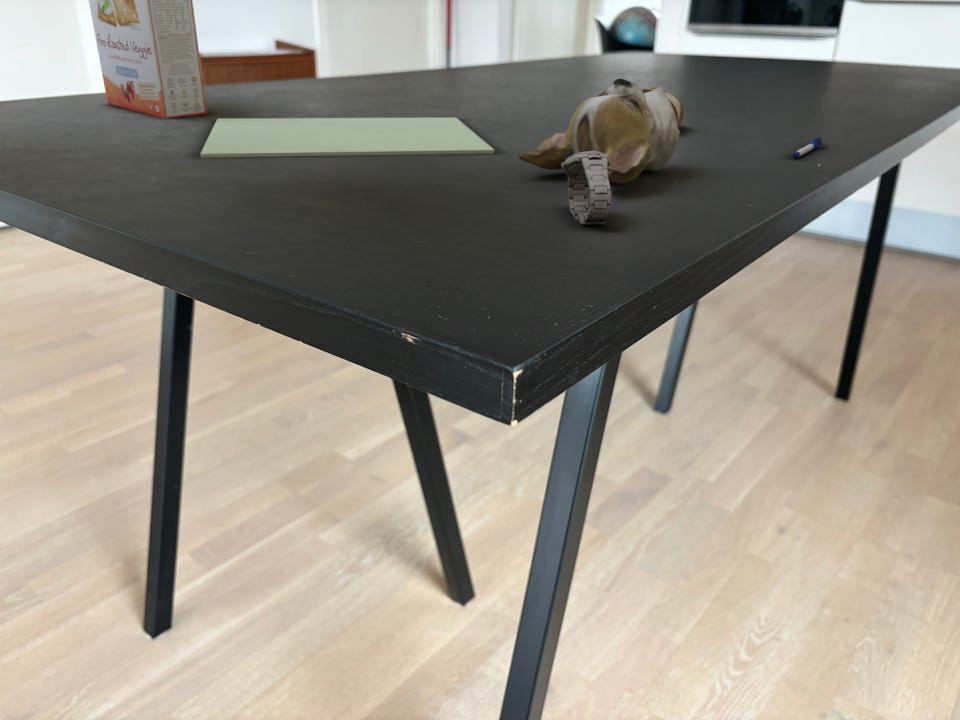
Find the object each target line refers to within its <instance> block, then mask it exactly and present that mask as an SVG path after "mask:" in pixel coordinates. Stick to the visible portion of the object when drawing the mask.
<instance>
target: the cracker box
mask: <svg viewBox="0 0 960 720" xmlns="http://www.w3.org/2000/svg"><path fill="white" fill-rule="evenodd" d="M193 2H194V1H193V0H88V4H89V9H90V15H91V20H92V27H93V32H94V37H95V42H96V43H95V44H96V48H97V53H98V59H99V63H100V69H101V74H102V80H103V85H104V91H105V95H106V101H107V105H109V106H113V107H116V108H121V109H125V110H128V111H131V112H132V111H133V112H136V113H140V114H143V115H148V116H152V117H156V118H160V119H164V120H168V119H169V120H170V119H178V118H186V117H187V118H188V117H194V116H203V115H204V116H205V115H207V114H208V111H207V104H206V94H205V89H204V88H205V87H204V80H203V72H202V63H201V56H200V49H199V41H198V33H197V32H198V31H197V25H196V18H195V10H194V9H195V8H194V3H193Z"/></svg>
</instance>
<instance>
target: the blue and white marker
mask: <svg viewBox="0 0 960 720" xmlns="http://www.w3.org/2000/svg"><path fill="white" fill-rule="evenodd" d="M822 143H823V140H822V137H816V138H814V139H812V142H810V143H809V144H807V145H806V146H803V147H801V148H799V149H798V150H796V151H794V152H793V154H792V157H793V158H796V159H797V158H800V157H802V156H804V155H805V154H806V153H809V152H810V151H813V150H815V149H817V148H818V147H820V146H821V145H822Z"/></svg>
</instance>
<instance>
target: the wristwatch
mask: <svg viewBox="0 0 960 720" xmlns="http://www.w3.org/2000/svg"><path fill="white" fill-rule="evenodd" d="M609 165H610V161H609V158H608V156H607V155H606V154H604V153H602V152H597V151H587V152H580V153H577V154H574V155H572V156H570V157H569V158H567V159H566V161H565V162H562V168H563V169H562V170H564V171H565V174H566V176H567V193H568V195H567V196H568V210H569V212H570V213H571V214H572V216H573V219H574V220H575V221H576V222H578V223H579V224H580V225H583V226H587V225H588V226H593V225H598V226H599V225H604V224H605V223H606V220H607V219H608V216H609V214H610V211H611V206H612V189H611V184H610V181H609V180H608V170H607V168H608V167H609ZM588 198H589V199H588Z"/></svg>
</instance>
